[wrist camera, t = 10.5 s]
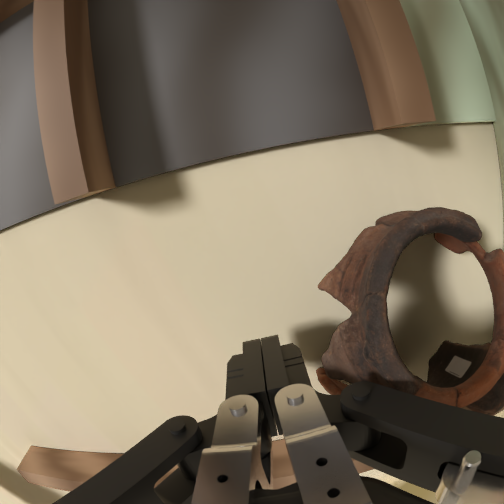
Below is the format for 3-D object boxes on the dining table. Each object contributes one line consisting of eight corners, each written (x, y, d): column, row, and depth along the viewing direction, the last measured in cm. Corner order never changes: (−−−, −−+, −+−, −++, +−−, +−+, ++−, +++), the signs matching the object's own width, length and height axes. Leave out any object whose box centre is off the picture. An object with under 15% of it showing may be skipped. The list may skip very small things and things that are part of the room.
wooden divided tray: (35, 457, 18) (17, 488, 14) (-86, 86, 10) (-120, 83, 6) (501, 376, 17) (530, 404, 13) (434, -69, 9) (462, -96, 5)
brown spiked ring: (257, 360, 16) (278, 375, 8) (342, 216, 19) (404, 135, 11) (423, 446, 15) (514, 482, 7) (482, 314, 17) (574, 290, 9)
